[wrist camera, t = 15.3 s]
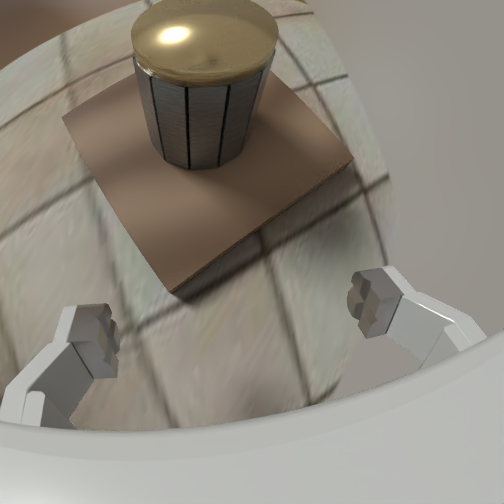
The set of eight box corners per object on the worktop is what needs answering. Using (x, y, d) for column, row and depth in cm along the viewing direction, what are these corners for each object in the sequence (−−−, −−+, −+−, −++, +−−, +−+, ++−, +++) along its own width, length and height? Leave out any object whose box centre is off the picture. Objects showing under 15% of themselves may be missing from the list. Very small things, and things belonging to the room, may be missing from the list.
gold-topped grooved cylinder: (134, 120, 17) (109, 21, 9) (213, 79, 18) (223, -17, 11) (185, 189, 16) (177, 93, 9) (268, 138, 18) (308, 41, 10)
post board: (68, 128, 18) (61, 117, 16) (225, 46, 21) (227, 33, 20) (171, 294, 17) (168, 292, 15) (344, 167, 20) (354, 158, 19)
